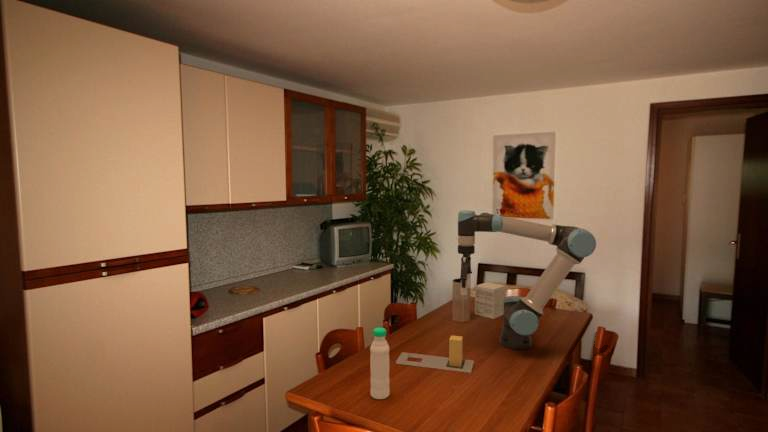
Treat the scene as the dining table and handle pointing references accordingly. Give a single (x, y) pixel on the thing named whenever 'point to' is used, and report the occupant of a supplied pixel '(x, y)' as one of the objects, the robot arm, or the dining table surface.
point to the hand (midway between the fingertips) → (465, 291)
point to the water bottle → (379, 365)
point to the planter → (460, 303)
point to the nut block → (456, 351)
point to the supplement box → (489, 300)
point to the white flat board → (434, 362)
